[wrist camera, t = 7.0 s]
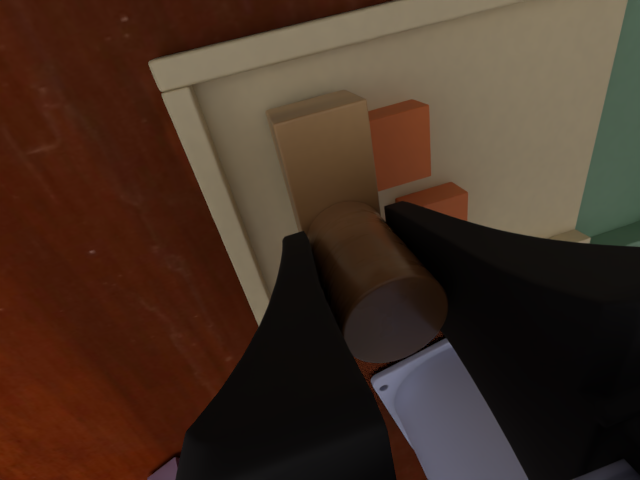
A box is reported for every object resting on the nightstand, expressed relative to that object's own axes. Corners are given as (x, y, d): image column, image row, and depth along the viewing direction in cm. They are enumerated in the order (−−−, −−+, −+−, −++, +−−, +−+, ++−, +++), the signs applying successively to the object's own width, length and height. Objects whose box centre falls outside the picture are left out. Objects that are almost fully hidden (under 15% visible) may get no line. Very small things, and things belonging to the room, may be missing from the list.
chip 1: (416, 165, 14) (431, 176, 13) (355, 183, 13) (366, 195, 12) (412, 98, 12) (429, 104, 11) (344, 117, 12) (356, 124, 11)
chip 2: (451, 231, 16) (467, 245, 15) (399, 248, 15) (411, 263, 14) (451, 180, 14) (469, 191, 13) (394, 198, 14) (407, 210, 13)
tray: (562, 236, 18) (588, 251, 17) (267, 333, 17) (271, 357, 16) (624, -56, 12) (672, -67, 11) (155, 58, 10) (146, 61, 9)
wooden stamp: (371, 276, 16) (449, 404, 10) (315, 294, 15) (366, 435, 10) (341, 87, 11) (449, 134, 6) (263, 107, 11) (302, 176, 6)
